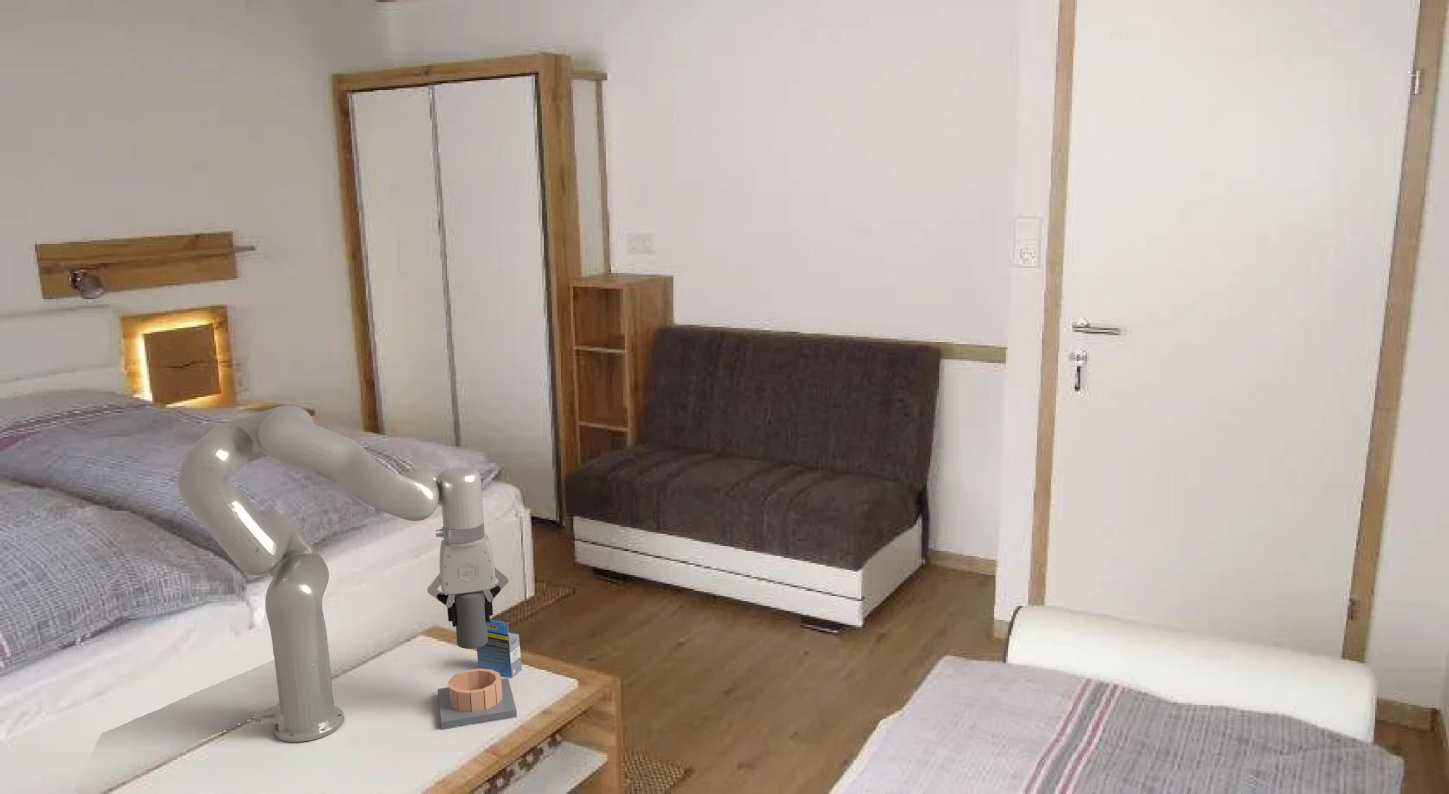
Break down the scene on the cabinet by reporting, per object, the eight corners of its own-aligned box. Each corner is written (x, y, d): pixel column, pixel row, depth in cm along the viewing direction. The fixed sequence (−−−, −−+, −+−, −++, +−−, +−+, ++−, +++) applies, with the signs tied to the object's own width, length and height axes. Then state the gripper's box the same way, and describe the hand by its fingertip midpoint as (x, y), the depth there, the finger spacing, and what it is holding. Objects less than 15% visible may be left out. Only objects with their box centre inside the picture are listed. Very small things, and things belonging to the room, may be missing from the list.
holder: (441, 729, 198) (439, 702, 197) (438, 695, 211) (436, 670, 210) (516, 717, 202) (515, 690, 201) (508, 684, 215) (506, 659, 214)
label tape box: (522, 670, 221) (519, 616, 219) (511, 679, 218) (507, 623, 215) (488, 663, 225) (485, 609, 223) (476, 671, 222) (473, 616, 219)
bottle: (491, 636, 206) (487, 564, 203) (482, 649, 201) (477, 575, 198) (463, 636, 207) (458, 563, 204) (452, 648, 201) (447, 574, 198)
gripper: (418, 544, 193) (425, 636, 197) (512, 533, 198) (518, 622, 202) (416, 532, 200) (424, 620, 204) (507, 521, 205) (513, 608, 209)
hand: (470, 620), depth 203 cm, fingers closed on bottle, 5 cm apart
